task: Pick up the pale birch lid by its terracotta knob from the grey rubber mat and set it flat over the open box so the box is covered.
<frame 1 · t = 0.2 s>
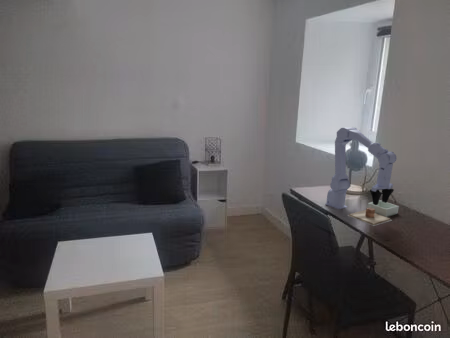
hand: (379, 203, 170), 9 cm above the table, tool pointing down, fingers open, 7 cm apart
lid: (369, 217, 176), resting on mat
open box: (381, 212, 185), on the table
mat: (369, 218, 176), on the table
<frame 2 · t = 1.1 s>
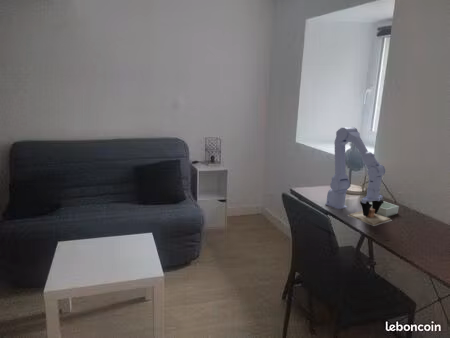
hand: (370, 214, 175), 2 cm above the table, tool pointing down, fingers open, 7 cm apart
nothing on the table moved.
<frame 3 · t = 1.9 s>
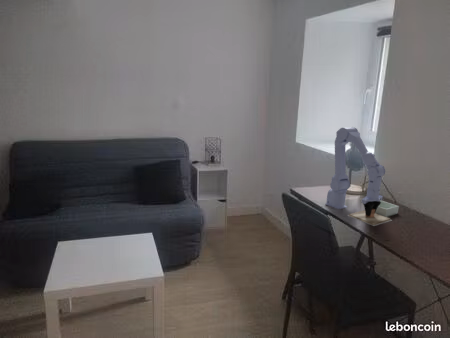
hand: (369, 214, 175), 2 cm above the table, tool pointing down, fingers closed on lid, 3 cm apart
lid: (369, 217, 176), resting on mat, touching gripper
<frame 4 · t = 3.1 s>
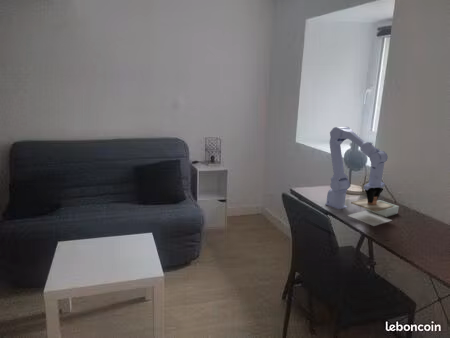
hand: (372, 201, 174), 9 cm above the table, tool pointing down, fingers closed on lid, 3 cm apart
lid: (371, 205, 174), point 7 cm above the table, touching gripper
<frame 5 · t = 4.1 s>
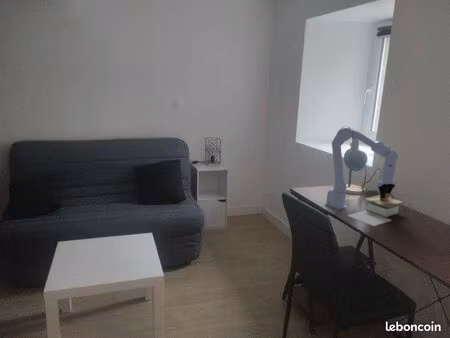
hand: (384, 197, 183), 9 cm above the table, tool pointing down, fingers closed on lid, 3 cm apart
lid: (383, 201, 183), point 6 cm above the table, touching gripper
when the fingers open (7 cm above the table, at t = 4.6 s): lid stays where it is, resting on open box.
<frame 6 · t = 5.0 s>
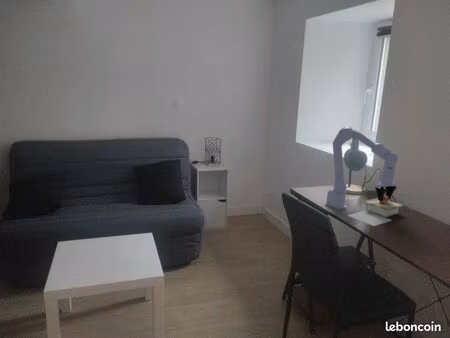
hand: (384, 199, 183), 7 cm above the table, tool pointing down, fingers open, 6 cm apart
lid: (383, 204, 184), point 4 cm above the table, touching open box
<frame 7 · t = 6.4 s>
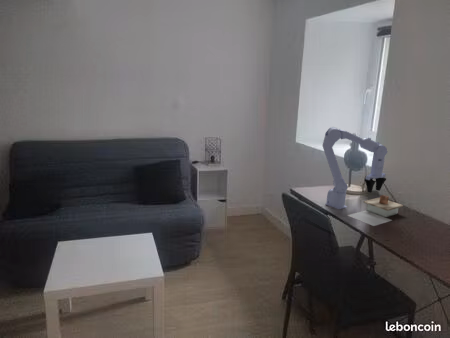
hand: (373, 191, 187), 10 cm above the table, tool pointing down, fingers open, 7 cm apart
nothing on the table moved.
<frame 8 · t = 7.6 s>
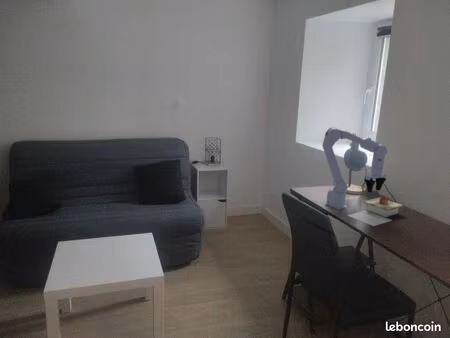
hand: (373, 191, 187), 10 cm above the table, tool pointing down, fingers open, 7 cm apart
nothing on the table moved.
at the end: lid 0.0 cm off-centre on the open box, point 4.5 cm above the open box's base; lid tilted 0°; the gripper is holding nothing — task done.
